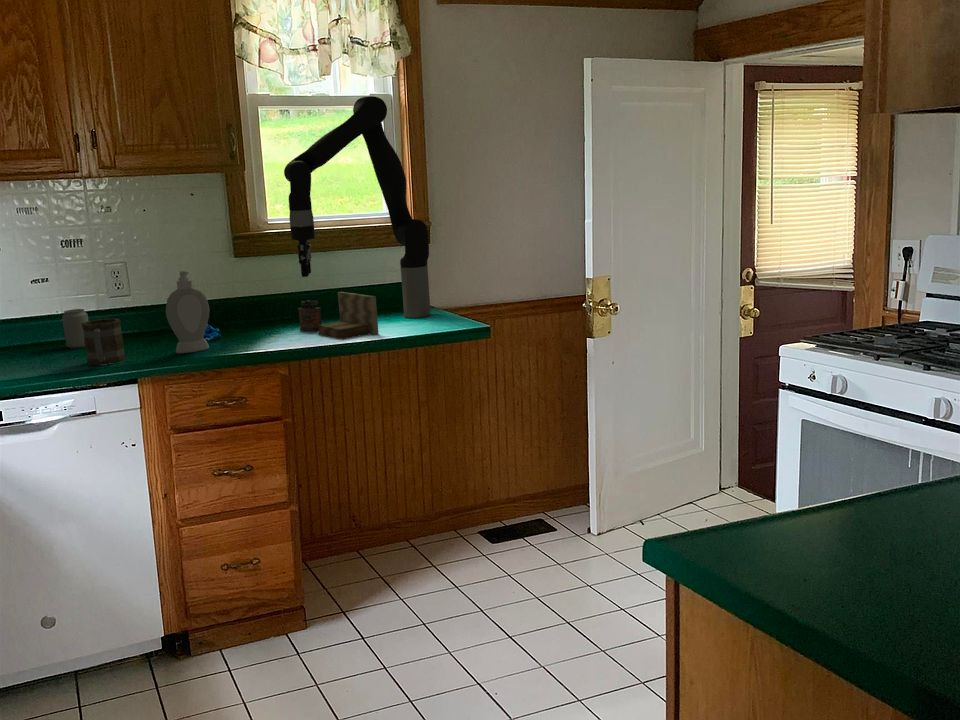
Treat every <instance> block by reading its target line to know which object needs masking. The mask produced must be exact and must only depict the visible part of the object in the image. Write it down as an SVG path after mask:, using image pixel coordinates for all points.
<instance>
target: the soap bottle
mask: <svg viewBox="0 0 960 720" xmlns="http://www.w3.org/2000/svg"><path fill="white" fill-rule="evenodd" d="M178 272H179V277H178V280H176V289H175V290H174V291H172V292H170V294H169V296H168V297H167V299H166V306H165V317H166V320H167V322H168V325H170V328H171V330H172V331H173V333H174V334H175V336H176V338H177V340H178V342H177V344H176V347H175V353H176V354H187V353H190V354H191V353H196V352H202V351H206V350H208V349H210V346H209V343H208V342H207V340H206V339H205V338H204V336H205V333H206V331H207V326H208V322H209V317H210V305H209V301H208V299H207V297H206V295H205V293H204V292H202V290H201V289H199V288H195V287H193V279H190V276H188V275H189V271H188V270H187V269H184V270H179V271H178Z"/></svg>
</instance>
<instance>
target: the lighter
mask: <svg viewBox="0 0 960 720" xmlns="http://www.w3.org/2000/svg"><path fill="white" fill-rule="evenodd" d="M300 304H301V307H298V308H297V311H298V315H299V325H300V329H299V331H300V332H317V333H318V332H319V331H318V325H322V324H323V323H322V314H321V313H322V312H321V311H322V308H321V307H316V306H317V305H319V301H318V300H310V299H307V300H305V301H304V300H302V301H300Z"/></svg>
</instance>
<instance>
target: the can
mask: <svg viewBox="0 0 960 720" xmlns="http://www.w3.org/2000/svg"><path fill="white" fill-rule="evenodd" d="M61 318H62V324H63V325H62V326H63V332H64V339H65V345H66V347H68V348H69V349H72V350H75V349H84V348H85V344H84V332H83V328H82V324H81V323H84V322H87V321H89V316H88V313H87V312H86V311H85V309H84V308H73V309H68V310H65V311H63V314H62V317H61Z"/></svg>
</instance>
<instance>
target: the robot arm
mask: <svg viewBox="0 0 960 720" xmlns="http://www.w3.org/2000/svg"><path fill="white" fill-rule="evenodd" d="M352 107H353V109H352V112H353V114H352V115H351V116H350V117H348V118H347V120H345V121H344V122H343V123H341V124H340V125H337V126H336V127H334V128H333V129H332V130H330V131H329V132H327V133H325V134H324V135H322V136H321V137H320V138H319V139H318V140H316V141H315V142H314V143H313V144H312V145H310V146H309V147H308V148H307V149H306V150H305V151H304V152H302V153H300V154H299V155H297V156H296V157H294V158H293V159H292V160H290V161H288V163H287V164H286V165H285V167H284V171H283V174H284V177H285V179H286V180H287V182H289V186H290V187H289V188H290V191H289V195H288V208H289V217H288V218H289V227H290V228H289V229H290V230H289V231H290V238H291V240H292V241H298V244H297V246H296V247H297V257H298V263H299V265H300V272H301V273H300V274H301V277H302V278H306V277H307V278H308V277H309V275H310V274H311V273H312V266H311V261H312V252H311V250H312V247H311V246H312V245H311V242H310V241H311V240H314V239H315V238H316V234H315V233H316V232H315V222H314V215H313V207H312V199H311V191H312V173H313V172H314V171H316V169H319V168H320V167H323V166H325V165H326V164H327V163H328V162H329V161H331V160H332V159H333V158H334V157H336V156H337V154H339V153H340V152H341V151H343V149H345V147H347V146H348V145H349V144H351V143H352V142H353V141H354V140H355V139H357V138H358V137H360V136H361V135H362V138H363V139H364V142H365V144H366V148H367V152H368V155H369V158H370V161H371V164H372V167H373V171H374V174H375V177H376V179H377V183H378V184H379V188H380V191H381V193H382V196H383V200H384V203H385V205H386V207H387V208H386V209H387V211H388V214H389V219H390V222H391V223H390V224H391V228H392V232H393V235H394V238H395V240H396V241H397V243H398V244H399V245H401V246H404V255H403V257H401V259H400V260H399V265H400V275H401V276H400V278H401V279H400V280H401V290H402V291H401V292H402V303H403V317H404V318H409V319H412V318H413V319H414V318H425V317H429V316H431V300H430V297H431V296H430V283H429V281H430V280H429V270H428V260H429V257H430V240H429V239H430V237H429V235H430V234H429V229H428V227H427V224H426V223H425V222H424V221H423V220H421V219H416V218H415V219H414V218H413V217H412V216H411V213H410V211H409V207H408V204H407V177H406V174H405V171H404V168H403V165H402V161H401V159H400V158H399V156H398V154H397V152H396V150H395V149H394V147H393V146H392V144H391V143H390V141H389V139H388V138H387V136H386V133H385V130H384V128H383V127H384V126H383V124H382V122H384V120H385V119H386V117H387V115H388V108H387V105H386V102H385V101H384V100H383V99H382V98H380V97H378V96H375V95H373V96H372V95H370V96H362V97H360V98H357V100H356V101H355V103H354V104H353V106H352Z"/></svg>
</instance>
